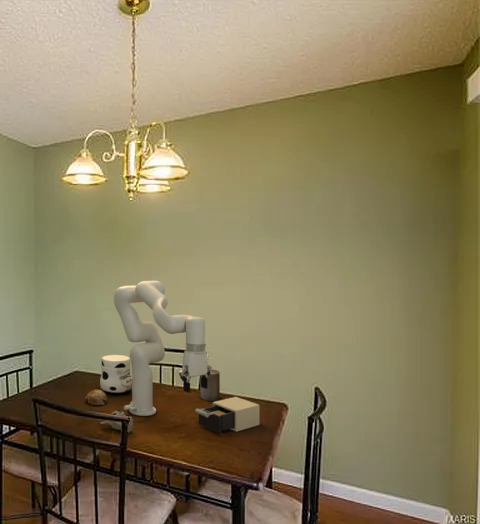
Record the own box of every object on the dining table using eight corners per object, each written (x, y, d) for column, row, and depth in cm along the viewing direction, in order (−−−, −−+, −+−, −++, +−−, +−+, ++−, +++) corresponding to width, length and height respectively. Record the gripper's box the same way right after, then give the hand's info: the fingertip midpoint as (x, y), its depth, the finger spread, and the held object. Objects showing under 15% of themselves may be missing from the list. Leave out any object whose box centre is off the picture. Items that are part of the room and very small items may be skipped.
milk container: (133, 396, 222) (133, 361, 222) (100, 396, 222) (100, 361, 222) (130, 386, 239) (130, 354, 239) (99, 386, 240) (99, 354, 240)
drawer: (211, 435, 169) (211, 415, 169) (190, 426, 179) (190, 406, 179) (242, 426, 178) (242, 407, 178) (220, 418, 188) (220, 399, 188)
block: (219, 426, 177) (219, 415, 176) (211, 422, 180) (211, 412, 180) (226, 423, 179) (226, 413, 179) (218, 420, 183) (218, 410, 182)
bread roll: (96, 413, 207) (102, 400, 205) (80, 401, 212) (86, 387, 210) (106, 407, 215) (112, 394, 213) (90, 395, 220) (96, 383, 218)
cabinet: (236, 431, 176) (236, 410, 176) (212, 421, 187) (212, 402, 186) (259, 424, 183) (259, 404, 183) (235, 415, 194) (235, 396, 194)
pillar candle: (223, 397, 219) (223, 368, 219) (214, 402, 212) (214, 372, 212) (205, 393, 226) (205, 365, 225) (196, 398, 218) (196, 369, 218)
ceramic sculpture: (122, 416, 169) (96, 408, 180) (123, 438, 169) (97, 429, 180) (140, 410, 176) (113, 403, 188) (141, 431, 176) (114, 423, 187)
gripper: (203, 343, 180) (203, 384, 180) (172, 348, 172) (173, 390, 172) (217, 346, 174) (217, 388, 174) (186, 351, 165) (186, 395, 165)
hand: (195, 389), depth 173 cm, fingers open, 9 cm apart
